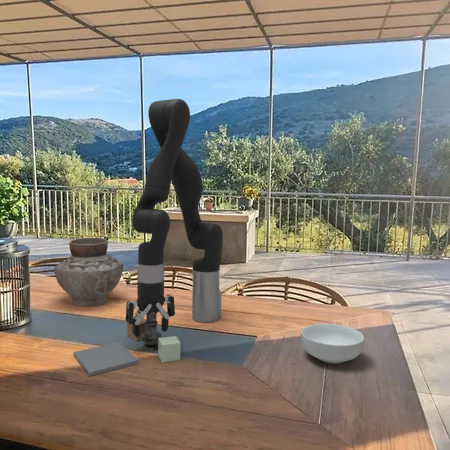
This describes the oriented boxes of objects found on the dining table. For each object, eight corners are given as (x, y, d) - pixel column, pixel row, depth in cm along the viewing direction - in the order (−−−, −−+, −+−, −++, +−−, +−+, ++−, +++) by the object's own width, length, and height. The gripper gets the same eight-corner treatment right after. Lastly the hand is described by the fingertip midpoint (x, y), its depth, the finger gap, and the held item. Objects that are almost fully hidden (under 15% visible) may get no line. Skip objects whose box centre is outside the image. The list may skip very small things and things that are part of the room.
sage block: (175, 352, 121) (175, 335, 121) (180, 360, 117) (180, 342, 116) (158, 355, 120) (158, 338, 119) (162, 362, 115) (162, 345, 114)
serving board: (119, 345, 125) (119, 341, 125) (138, 363, 114) (138, 359, 114) (73, 355, 118) (73, 352, 118) (89, 376, 107) (89, 372, 107)
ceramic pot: (113, 313, 152) (112, 247, 149) (43, 312, 152) (41, 245, 149) (130, 293, 177) (129, 235, 173) (70, 291, 177) (68, 234, 174)
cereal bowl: (363, 350, 125) (365, 327, 124) (361, 376, 110) (363, 349, 109) (304, 341, 131) (305, 319, 130) (295, 365, 115) (296, 339, 114)
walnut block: (141, 332, 136) (141, 317, 135) (150, 337, 132) (150, 321, 132) (127, 336, 132) (127, 320, 132) (136, 341, 129) (136, 325, 128)
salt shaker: (157, 352, 121) (157, 310, 120) (138, 349, 123) (137, 309, 121) (164, 343, 127) (164, 304, 126) (145, 341, 128) (145, 302, 127)
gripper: (167, 273, 129) (166, 325, 131) (121, 279, 121) (122, 334, 123) (179, 278, 123) (178, 333, 125) (132, 285, 115) (132, 343, 117)
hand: (150, 333), depth 124 cm, fingers open, 8 cm apart
